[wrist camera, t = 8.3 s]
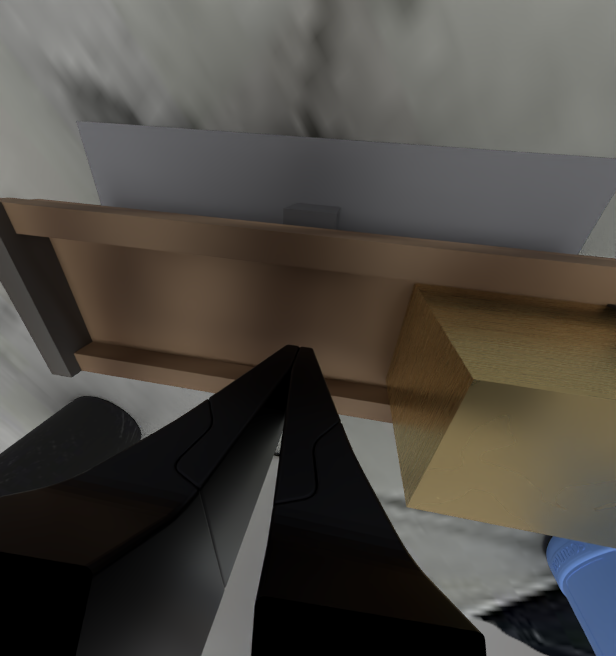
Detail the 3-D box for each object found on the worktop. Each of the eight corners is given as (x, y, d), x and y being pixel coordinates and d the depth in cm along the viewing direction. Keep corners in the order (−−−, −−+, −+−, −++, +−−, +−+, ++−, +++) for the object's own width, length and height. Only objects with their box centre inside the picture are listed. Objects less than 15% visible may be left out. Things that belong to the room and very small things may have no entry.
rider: (605, 305, 8) (879, 440, 4) (534, 403, 10) (661, 557, 6) (414, 282, 9) (473, 379, 5) (385, 380, 11) (406, 506, 7)
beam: (642, 258, 8) (742, 285, 6) (529, 412, 12) (568, 463, 10) (37, 196, 10) (-45, 200, 8) (98, 344, 14) (51, 374, 12)
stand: (615, 161, 10) (729, 152, 7) (480, 398, 17) (508, 448, 14) (91, 124, 12) (4, 105, 9) (153, 345, 19) (113, 377, 16)
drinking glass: (228, 453, 24) (85, 758, 11) (288, 440, 22) (193, 808, 9) (265, 493, 27) (183, 781, 14) (323, 485, 24) (288, 824, 12)
